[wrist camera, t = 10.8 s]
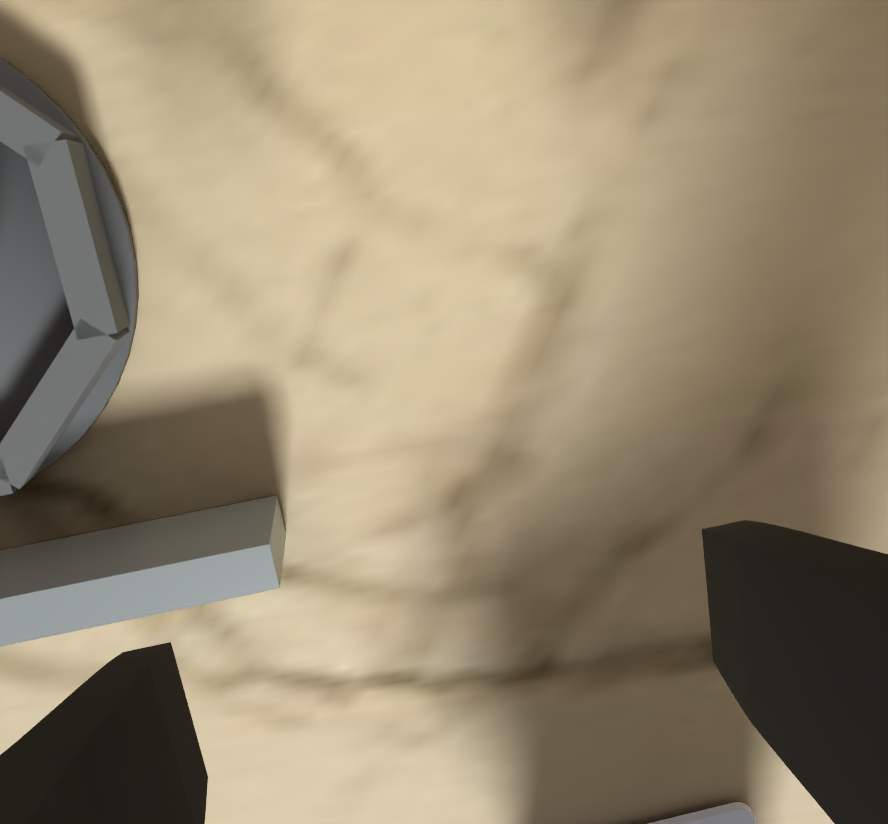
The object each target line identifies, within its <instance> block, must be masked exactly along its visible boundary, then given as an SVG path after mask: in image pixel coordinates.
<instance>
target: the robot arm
mask: <svg viewBox="0 0 888 824" xmlns="http://www.w3.org/2000/svg"><path fill="white" fill-rule="evenodd" d="M702 535H703V547H704V558H705V569H706V581H707V592H708V603H709V615H710V626H711V637H712V649H713V660H714V663H715V665H716V666H717V668H718V670H719V671H720V673H721V675H722V676H723V678H724V680H725V681H726V683H727V685H728V687H729V688H730V690H731V692H732V693H733V695H734V696H735V698H736V700H737V701H738V703H739V704H740V706H741V707H742V709H743V711H744V712H745V714H746V715H747V717H748V718H749V720H750V721H751V723H752V724H753V725H754V726H755V728H756V729H757V730H758V731H759V733H760V734H761V735H762V736H763V738H764V739H765V740H766V741H767V743H768V744H769V745H770V746H771V747H772V749H773V750H774V751H775V752H776V754H777V755H778V756H779V757H780V758H781V760H782V761H783V762H784V763H785V765H786V766H787V767H788V768H789V769H790V771H791V772H792V773H793V774H794V775H795V777H796V778H797V779H798V780H799V781H800V783H801V784H802V785H803V786H804V787H805V789H806V790H807V791H808V792H809V793H810V795H811V796H812V797H813V798H814V799H815V800H816V802H817V803H818V804H819V805H820V806H821V808H822V809H823V810H824V811H825V812H826V814H827V815H828V816H829V817H830V818H831V820H832V821H833V822H834V823H835V824H888V554H884V553H880V552H876V551H872V550H869V549H865V548H861V547H857V546H853V545H850V544H846V543H842V542H838V541H835V540H831V539H827V538H823V537H820V536H816V535H812V534H808V533H804V532H801V531H797V530H793V529H789V528H784V527H780V526H776V525H771V524H766V523H761V522H754V521H746V520H744V521H739V522H734V523H730V524H725V525H720V526H716V527H711V528H706V529H702ZM207 782H208V776H207V772H206V768H205V765H204V761H203V757H202V754H201V750H200V747H199V743H198V739H197V736H196V732H195V728H194V725H193V721H192V718H191V714H190V710H189V707H188V703H187V699H186V696H185V692H184V689H183V685H182V681H181V678H180V674H179V670H178V667H177V663H176V660H175V656H174V652H173V649H172V645H171V642H170V643H165V644H160V645H155V646H151V647H146V648H141V649H137V650H132V651H127V652H123V653H121V654H120V655H118V656H117V657H115V658H114V659H112V660H111V661H110V662H109V663H107V664H106V665H105V666H103V667H102V668H101V669H100V670H99V671H97V672H96V673H95V674H94V675H93V676H91V677H90V678H89V679H88V680H87V681H86V682H85V683H83V684H82V685H81V686H80V687H79V688H78V689H76V690H75V691H74V692H73V693H72V694H71V695H70V696H69V697H67V698H66V699H65V700H64V701H63V702H62V703H61V704H59V705H58V706H57V707H56V708H55V709H54V710H53V711H51V712H50V713H49V714H48V715H47V716H46V717H45V718H43V719H42V720H41V721H40V722H39V723H38V724H37V725H35V726H34V727H33V728H32V729H31V730H30V731H29V732H27V733H26V734H25V735H24V736H23V737H22V738H20V739H19V740H18V741H17V742H16V743H15V744H13V745H12V746H11V747H10V748H8V749H7V750H6V751H5V752H4V753H2V754H1V755H0V824H204V823H205V811H206V796H207ZM648 824H757V820H756V817H755V815H754V813H753V812H752V810H751V809H750V808H749V807H748V806H747V805H746V804H744V803H741V802H734V803H729V804H725V805H721V806H717V807H713V808H709V809H705V810H701V811H697V812H693V813H689V814H685V815H680V816H676V817H672V818H668V819H664V820H660V821H656V822H652V823H648Z"/></svg>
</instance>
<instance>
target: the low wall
mask: <svg viewBox="0 0 888 824" xmlns="http://www.w3.org/2000/svg"><path fill="white" fill-rule="evenodd" d="M285 539H286V531H285V527H284V522H283V518H282V514H281V509H280V505H279V500H278V496H277V495H276V496H271V497H266V498H261V499H256V500H251V501H246V502H241V503H236V504H231V505H226V506H221V507H216V508H211V509H205V510H200V511H195V512H190V513H185V514H180V515H175V516H170V517H165V518H160V519H155V520H150V521H145V522H140V523H135V524H130V525H125V526H120V527H115V528H110V529H105V530H100V531H95V532H90V533H85V534H80V535H75V536H70V537H65V538H60V539H55V540H49V541H44V542H39V543H34V544H29V545H24V546H19V547H14V548H9V549H4V550H0V647H1V646H6V645H10V644H15V643H20V642H25V641H30V640H34V639H39V638H44V637H49V636H53V635H58V634H63V633H68V632H73V631H77V630H82V629H87V628H92V627H97V626H101V625H106V624H111V623H116V622H120V621H125V620H130V619H135V618H140V617H144V616H149V615H154V614H159V613H164V612H168V611H173V610H178V609H183V608H187V607H192V606H197V605H202V604H207V603H211V602H216V601H221V600H226V599H230V598H235V597H240V596H245V595H250V594H254V593H259V592H264V591H269V590H274V589H278V588H280V581H281V572H282V564H283V555H284V547H285Z"/></svg>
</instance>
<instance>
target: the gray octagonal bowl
mask: <svg viewBox="0 0 888 824" xmlns="http://www.w3.org/2000/svg"><path fill="white" fill-rule="evenodd" d="M138 297H139V295H138V275H137V262H136V257H135V251H134V246H133V241H132V235H131V231H130V228H129V225H128V222H127V219H126V216H125V213H124V210H123V206H122V203H121V201H120V198H119V196H118V194H117V192H116V190H115V188H114V186H113V183H112V181H111V179H110V177H109V175H108V173H107V171H106V169H105V167H104V166H103V164H102V163H101V161H100V159H99V158H98V156H97V155H96V153H95V151H94V150H93V148H92V147H91V145H90V143H89V142H88V140H87V139H86V138H85V137H84V135H83V134H82V133H81V132H80V130H79V129H78V128H77V127H76V125H75V124H74V123H73V122H72V120H71V119H70V118H69V117H68V115H67V114H66V113H65V112H64V111H63V110H62V109H61V108H60V107H59V106H58V105H57V104H56V103H55V102H54V101H53V100H52V99H51V98H50V97H49V96H48V95H47V94H46V93H45V92H44V91H43V90H42V89H41V88H40V87H39V86H37V85H36V84H35V83H34V82H32V81H31V80H30V79H28V78H27V77H26V76H25V75H23V74H22V73H21V72H19V71H18V70H17V69H16V68H14V67H13V66H12V65H10V64H9V63H8V62H6V61H4V60H3V59H1V58H0V496H3V495H8V494H13V493H14V492H15V491H16V490H17V489H20V488H21V487H23V486H24V485H25V484H26V483H27V482H28V481H29V480H30V479H31V478H32V477H34V476H36V475H37V474H39V473H40V472H41V471H43V470H44V469H45V468H47V467H48V466H49V465H51V464H52V463H53V462H55V461H56V460H57V459H59V458H60V457H61V456H62V455H63V454H64V453H66V452H67V451H68V450H69V449H70V448H71V447H72V446H73V445H74V444H75V443H76V442H77V441H78V440H79V439H80V438H81V437H82V436H83V435H84V434H85V433H86V432H87V431H88V429H89V428H90V427H91V425H92V424H93V423H94V421H95V420H96V419H97V418H98V416H99V415H100V414H101V412H102V411H103V410H104V408H105V407H106V405H107V403H108V401H109V399H110V398H111V396H112V394H113V392H114V391H115V389H116V387H117V385H118V383H119V381H120V378H121V376H122V373H123V371H124V368H125V365H126V363H127V360H128V358H129V355H130V350H131V346H132V341H133V337H134V333H135V328H136V320H137V308H138Z"/></svg>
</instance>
